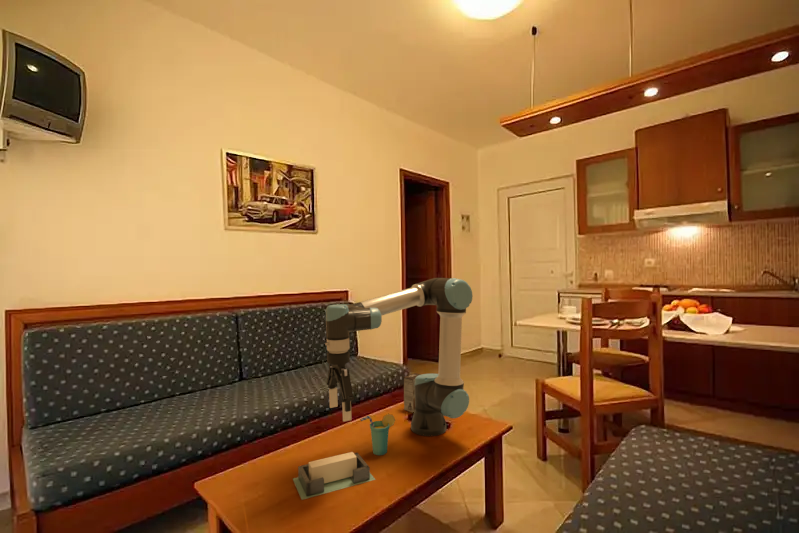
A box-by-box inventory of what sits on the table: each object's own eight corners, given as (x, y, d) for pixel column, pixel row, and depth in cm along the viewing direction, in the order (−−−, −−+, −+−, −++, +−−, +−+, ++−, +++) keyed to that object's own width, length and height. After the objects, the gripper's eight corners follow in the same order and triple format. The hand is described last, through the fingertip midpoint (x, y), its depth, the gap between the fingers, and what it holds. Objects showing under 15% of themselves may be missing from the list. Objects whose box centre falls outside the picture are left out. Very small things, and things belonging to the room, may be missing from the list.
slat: (352, 469, 134) (352, 451, 134) (356, 474, 131) (356, 456, 131) (308, 480, 128) (308, 462, 128) (311, 486, 124) (311, 467, 124)
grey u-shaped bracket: (357, 463, 139) (357, 452, 139) (369, 479, 129) (369, 467, 129) (342, 467, 137) (342, 455, 137) (354, 483, 126) (354, 471, 126)
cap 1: (306, 496, 120) (306, 483, 120) (298, 478, 130) (298, 466, 130) (324, 492, 122) (324, 479, 122) (314, 474, 132) (314, 462, 132)
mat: (361, 462, 141) (361, 461, 141) (375, 480, 129) (375, 479, 129) (292, 479, 130) (292, 478, 130) (301, 501, 118) (301, 499, 118)
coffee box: (415, 404, 198) (415, 372, 197) (425, 407, 193) (425, 375, 193) (403, 409, 191) (403, 376, 191) (413, 413, 186) (413, 379, 186)
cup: (366, 463, 140) (365, 421, 140) (356, 454, 147) (355, 414, 147) (399, 452, 148) (398, 412, 148) (388, 444, 154) (388, 406, 154)
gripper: (316, 345, 142) (318, 403, 143) (339, 360, 120) (342, 429, 121) (336, 342, 146) (338, 399, 146) (362, 357, 124) (364, 424, 124)
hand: (340, 413), depth 134 cm, fingers open, 13 cm apart
